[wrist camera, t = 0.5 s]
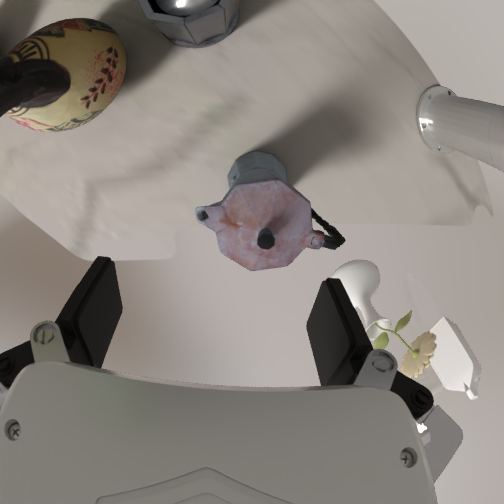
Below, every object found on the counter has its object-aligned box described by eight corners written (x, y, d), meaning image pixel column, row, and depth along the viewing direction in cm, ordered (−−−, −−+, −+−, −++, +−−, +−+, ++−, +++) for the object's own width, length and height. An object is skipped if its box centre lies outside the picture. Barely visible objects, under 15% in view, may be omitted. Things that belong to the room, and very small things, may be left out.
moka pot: (212, 140, 36) (193, 177, 19) (316, 157, 38) (380, 208, 21) (204, 201, 41) (186, 282, 24) (301, 214, 43) (345, 295, 26)
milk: (417, 342, 67) (452, 411, 44) (443, 316, 62) (486, 383, 40) (432, 348, 70) (464, 409, 48) (456, 324, 66) (494, 384, 43)
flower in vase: (343, 309, 55) (385, 410, 34) (312, 283, 50) (354, 399, 29) (390, 270, 51) (453, 363, 29) (364, 238, 46) (439, 340, 25)
